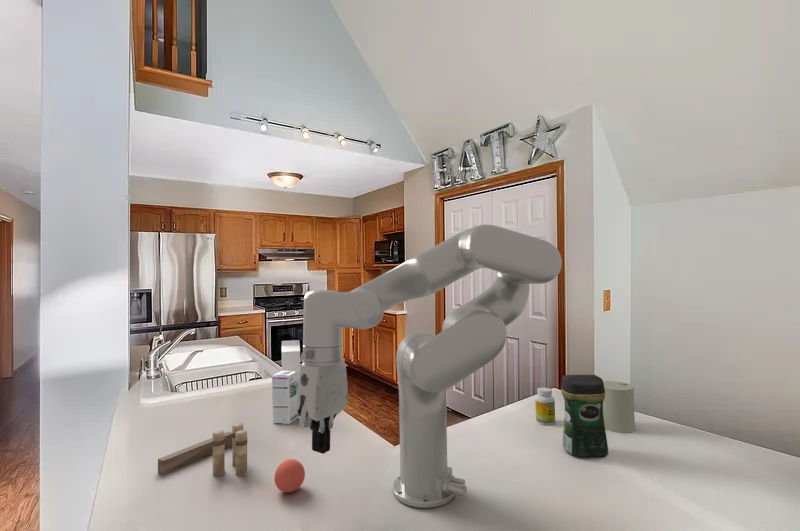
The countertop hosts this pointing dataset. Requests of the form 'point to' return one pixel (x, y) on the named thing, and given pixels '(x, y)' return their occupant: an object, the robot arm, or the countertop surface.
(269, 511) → the countertop surface
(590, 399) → the coffee jar
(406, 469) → the robot arm
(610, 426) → the can
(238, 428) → the right back pin
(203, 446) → the back wall
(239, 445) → the front pin
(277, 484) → the ball
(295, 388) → the syrup box
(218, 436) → the left back pin
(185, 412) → the countertop surface
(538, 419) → the supplement bottle
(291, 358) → the milk
